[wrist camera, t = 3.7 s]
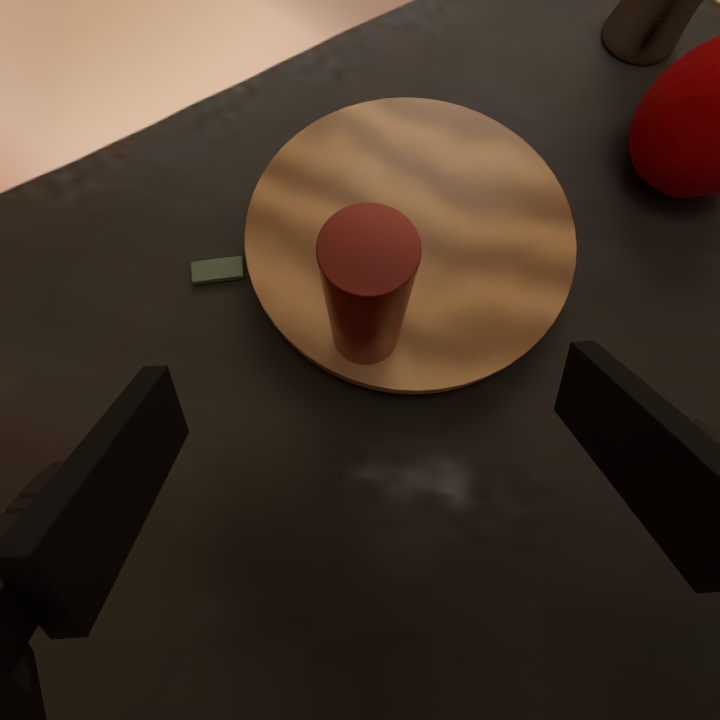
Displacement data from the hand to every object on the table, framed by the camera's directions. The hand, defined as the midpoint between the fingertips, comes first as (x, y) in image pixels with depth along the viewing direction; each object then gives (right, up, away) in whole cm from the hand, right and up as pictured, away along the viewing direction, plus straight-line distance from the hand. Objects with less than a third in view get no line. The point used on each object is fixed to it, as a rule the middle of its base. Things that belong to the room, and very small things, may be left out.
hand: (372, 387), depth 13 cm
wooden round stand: (+3, +9, +14) cm, 17 cm away
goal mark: (-10, +7, +15) cm, 20 cm away
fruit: (+23, +16, +18) cm, 33 cm away
